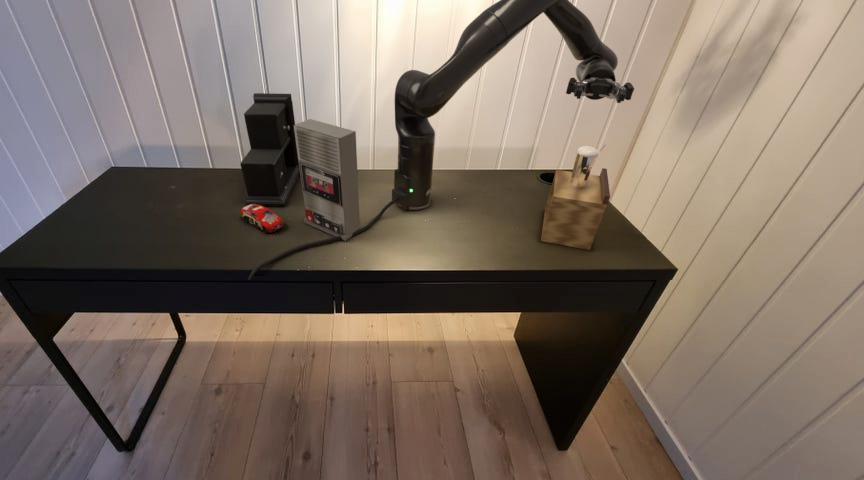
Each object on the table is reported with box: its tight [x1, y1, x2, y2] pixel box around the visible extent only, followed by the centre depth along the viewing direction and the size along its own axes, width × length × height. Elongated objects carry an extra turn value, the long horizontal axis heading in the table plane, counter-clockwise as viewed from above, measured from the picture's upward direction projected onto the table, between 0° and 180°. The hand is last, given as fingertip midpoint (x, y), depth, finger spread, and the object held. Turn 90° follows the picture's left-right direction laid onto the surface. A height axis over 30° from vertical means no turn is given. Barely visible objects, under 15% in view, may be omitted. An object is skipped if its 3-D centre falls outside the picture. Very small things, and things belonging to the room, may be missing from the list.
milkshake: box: [570, 144, 607, 188], centre depth 92 cm, size 4×5×10 cm
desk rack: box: [540, 167, 611, 251], centre depth 98 cm, size 11×15×14 cm
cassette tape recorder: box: [294, 118, 362, 242], centre depth 95 cm, size 14×6×25 cm, turn 53°
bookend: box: [239, 92, 300, 207], centre depth 113 cm, size 23×11×24 cm, turn 178°
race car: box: [241, 204, 285, 234], centre depth 103 cm, size 13×5×4 cm, turn 49°
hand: (599, 96), depth 92 cm, fingers open, 8 cm apart
